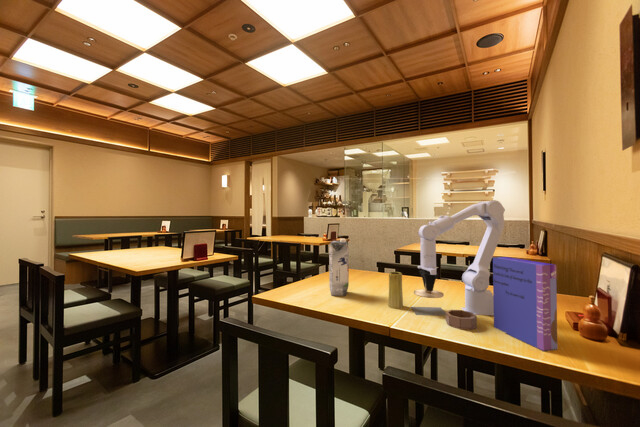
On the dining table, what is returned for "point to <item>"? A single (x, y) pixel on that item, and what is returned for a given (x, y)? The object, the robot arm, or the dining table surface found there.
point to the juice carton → (338, 267)
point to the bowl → (461, 319)
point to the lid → (428, 293)
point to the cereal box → (526, 301)
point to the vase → (395, 290)
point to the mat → (429, 311)
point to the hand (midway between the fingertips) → (428, 289)
